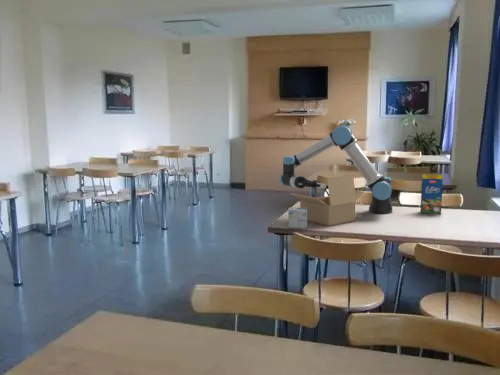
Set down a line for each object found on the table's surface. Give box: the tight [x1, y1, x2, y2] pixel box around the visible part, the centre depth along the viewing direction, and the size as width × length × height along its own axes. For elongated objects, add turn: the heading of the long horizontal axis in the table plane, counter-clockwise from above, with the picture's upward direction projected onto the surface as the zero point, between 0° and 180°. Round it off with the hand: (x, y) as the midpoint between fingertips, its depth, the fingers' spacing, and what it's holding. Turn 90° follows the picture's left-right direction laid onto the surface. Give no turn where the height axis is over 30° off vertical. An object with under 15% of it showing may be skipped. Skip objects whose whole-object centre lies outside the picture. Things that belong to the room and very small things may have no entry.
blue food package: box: [420, 173, 443, 215], centre depth 316 cm, size 6×12×25 cm, turn 75°
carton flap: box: [326, 174, 357, 206], centre depth 284 cm, size 16×21×1 cm
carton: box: [290, 189, 365, 228], centre depth 295 cm, size 25×40×17 cm, turn 127°
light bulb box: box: [287, 207, 308, 229], centre depth 279 cm, size 11×7×11 cm, turn 84°
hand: (324, 186), depth 295 cm, fingers closed
